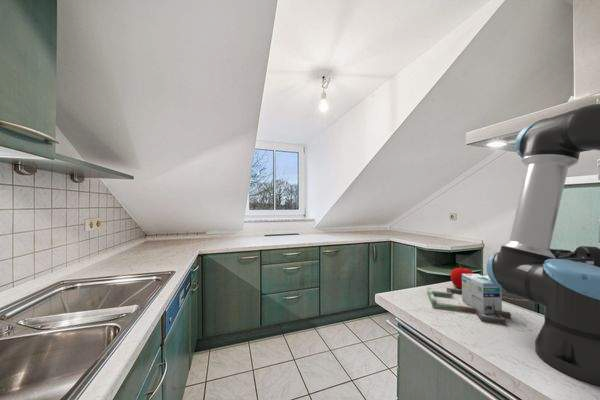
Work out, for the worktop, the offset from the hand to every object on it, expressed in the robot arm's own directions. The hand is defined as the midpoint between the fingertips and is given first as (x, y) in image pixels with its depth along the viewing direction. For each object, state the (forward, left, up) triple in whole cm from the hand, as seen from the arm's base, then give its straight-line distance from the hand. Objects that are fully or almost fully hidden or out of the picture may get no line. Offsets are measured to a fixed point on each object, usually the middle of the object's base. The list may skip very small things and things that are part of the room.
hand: (513, 254), depth 82 cm
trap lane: (0, +15, -20) cm, 25 cm away
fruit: (+20, +10, -20) cm, 30 cm away
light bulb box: (-1, +10, -20) cm, 23 cm away
